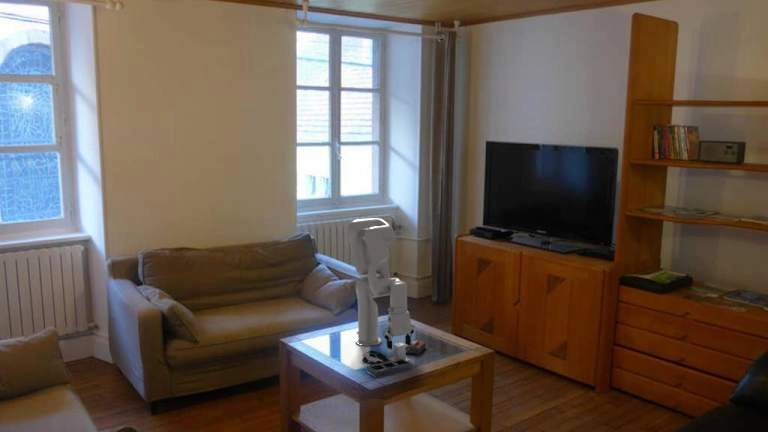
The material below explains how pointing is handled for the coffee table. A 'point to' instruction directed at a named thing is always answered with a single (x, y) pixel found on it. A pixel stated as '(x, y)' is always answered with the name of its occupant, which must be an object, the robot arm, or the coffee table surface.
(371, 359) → the toy car
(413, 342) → the walkie-talkie
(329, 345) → the coffee table surface
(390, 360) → the sage mat
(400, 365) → the grey flat frame
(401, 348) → the steel block
